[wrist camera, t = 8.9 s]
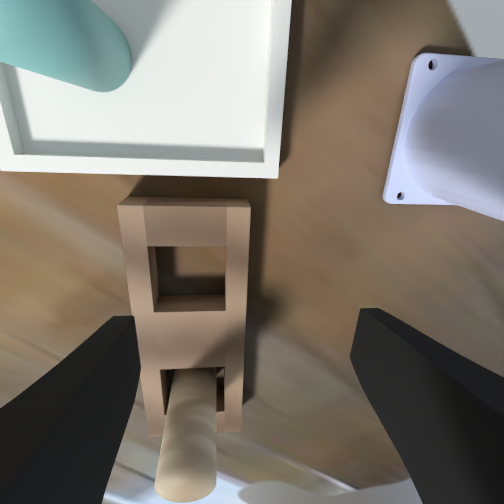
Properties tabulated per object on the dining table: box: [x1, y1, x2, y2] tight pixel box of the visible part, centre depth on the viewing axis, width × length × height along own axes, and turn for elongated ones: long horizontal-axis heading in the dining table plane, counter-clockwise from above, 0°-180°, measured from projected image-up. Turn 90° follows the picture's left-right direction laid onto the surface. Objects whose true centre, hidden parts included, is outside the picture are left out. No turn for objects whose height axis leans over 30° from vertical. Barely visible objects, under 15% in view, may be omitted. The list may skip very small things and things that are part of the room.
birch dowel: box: [155, 367, 216, 502], centre depth 19 cm, size 3×3×8 cm
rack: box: [117, 197, 251, 437], centre depth 20 cm, size 18×7×2 cm, turn 177°
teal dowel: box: [0, 0, 132, 92], centre depth 10 cm, size 3×3×8 cm
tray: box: [0, 0, 292, 178], centre depth 14 cm, size 14×11×1 cm
